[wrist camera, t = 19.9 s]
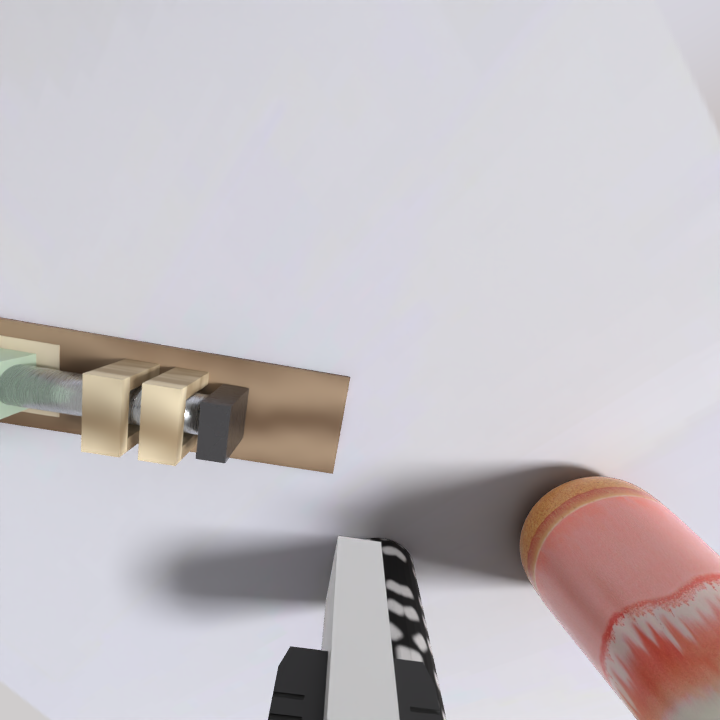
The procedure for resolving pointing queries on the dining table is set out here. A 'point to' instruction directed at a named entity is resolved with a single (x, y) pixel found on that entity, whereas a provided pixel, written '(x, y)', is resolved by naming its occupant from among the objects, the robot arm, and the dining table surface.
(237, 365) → the jig
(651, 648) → the vase
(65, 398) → the shaft
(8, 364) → the block
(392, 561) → the spotted tube
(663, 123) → the dining table surface
